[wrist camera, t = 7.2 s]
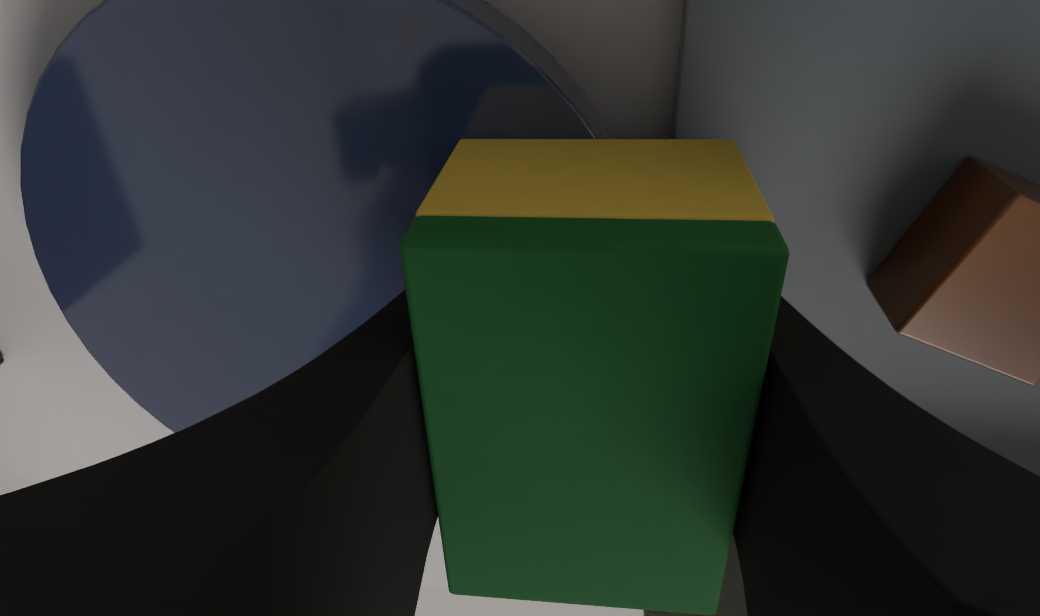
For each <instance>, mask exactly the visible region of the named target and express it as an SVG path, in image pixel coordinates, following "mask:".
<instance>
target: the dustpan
mask: <svg viewBox="0 0 1040 616" xmlns="http://www.w3.org/2000/svg"><path fill="white" fill-rule="evenodd" d="M671 139H731V140H734V141H735V143H736V145H737V147H738V149H739V151H740V153H741V155H742V157H743V158H744V160H745V162H746V164H747V166H748V168H749V170H750V172H751V174H752V176H753V178H754V180H755V182H756V184H757V186H758V188H759V190H760V191H761V193H762V195H763V197H764V199H765V201H766V203H767V205H768V207H769V209H770V211H771V213H772V215H773V217H774V220H775V221H774V223H776V225H777V227H778V229H779V231H780V233H781V235H782V237H783V239H784V241H785V243H786V245H787V246H788V249H789V253H790V254H789V259H788V264H787V269H786V274H785V279H784V283H783V288H782V293H781V296H782V297H783V298H784V299H785V300H786V301H788V302H789V303H790V304H791V305H792V306H793V307H794V308H795V309H796V310H797V311H798V312H800V313H801V314H802V315H803V316H804V317H805V318H806V319H807V320H808V321H809V322H811V323H812V324H813V325H814V326H815V327H816V328H817V329H819V330H820V331H821V332H822V333H823V334H824V335H825V336H827V337H828V338H829V339H830V340H831V341H832V342H834V343H835V344H836V345H837V346H838V347H840V348H841V349H842V350H843V351H845V352H846V353H847V354H848V355H849V356H851V357H852V358H853V359H854V360H856V361H857V362H858V363H860V364H861V365H862V366H864V367H865V368H866V369H867V370H869V371H870V372H871V373H873V374H874V375H875V376H877V377H878V378H879V379H881V380H882V381H883V382H885V383H886V384H887V385H889V386H890V387H891V388H893V389H894V390H896V391H897V392H899V393H900V394H901V395H903V396H904V397H906V398H907V399H909V400H910V401H912V402H913V403H915V404H916V405H918V406H919V407H921V408H922V409H924V410H926V411H927V412H929V413H930V414H932V415H933V416H935V417H936V418H938V419H940V420H941V421H943V422H944V423H946V424H947V425H949V426H950V427H952V428H954V429H955V430H957V431H959V432H960V433H962V434H964V435H966V436H967V437H969V438H971V439H972V440H974V441H976V442H977V443H979V444H981V445H983V446H984V447H986V448H988V449H990V450H992V451H994V452H996V453H997V454H999V455H1001V456H1003V457H1005V458H1007V459H1008V460H1010V461H1012V462H1014V463H1016V464H1018V465H1019V466H1021V467H1023V468H1025V469H1027V470H1029V471H1030V472H1032V473H1034V474H1036V475H1038V476H1040V381H1039V382H1038V383H1037V384H1036V385H1033V386H1031V385H1028V384H1026V383H1023V382H1021V381H1018V380H1016V379H1013V378H1010V377H1008V376H1005V375H1003V374H1000V373H998V372H995V371H993V370H990V369H987V368H985V367H982V366H980V365H977V364H975V363H972V362H970V361H967V360H964V359H962V358H959V357H957V356H954V355H952V354H949V353H947V352H944V351H941V350H939V349H936V348H934V347H931V346H929V345H926V344H924V343H921V342H918V341H916V340H913V339H911V338H908V337H906V336H903V335H901V334H898V333H896V332H895V330H894V329H893V327H892V325H891V324H890V322H889V321H888V319H887V317H886V316H885V314H884V313H883V311H882V309H881V308H880V306H879V305H878V303H877V301H876V300H875V298H874V297H873V295H872V293H871V292H870V290H869V289H868V287H867V286H866V282H867V281H868V279H869V278H870V277H871V276H872V274H873V273H874V272H875V271H876V269H877V268H878V267H879V266H880V264H881V263H882V262H883V261H884V259H885V258H886V257H887V256H888V254H889V253H890V252H891V251H892V249H893V248H894V247H895V246H896V244H897V243H898V242H899V241H900V239H901V238H902V237H903V236H904V235H905V233H906V232H907V231H908V230H909V228H910V227H911V226H912V225H913V223H914V222H915V221H916V220H917V218H918V217H919V216H920V215H921V213H922V212H923V211H924V210H925V208H926V207H927V206H928V205H929V203H930V202H931V201H932V200H933V198H934V197H935V196H936V195H937V193H938V192H939V191H940V190H941V188H942V187H943V186H944V185H945V184H946V182H947V181H948V180H949V179H950V177H951V176H952V175H953V174H954V172H955V171H956V170H957V169H958V167H959V166H960V165H961V164H962V162H963V161H964V160H965V159H966V158H967V157H968V156H973V157H976V158H978V159H980V160H983V161H985V162H987V163H990V164H992V165H994V166H997V167H999V168H1001V169H1004V170H1006V171H1008V172H1011V173H1013V174H1015V175H1018V176H1020V177H1022V178H1025V179H1027V180H1029V181H1032V182H1034V183H1036V184H1039V185H1040V0H684V6H683V16H682V27H681V37H680V48H679V59H678V69H677V80H676V90H675V101H674V112H673V122H672V133H671ZM644 616H748V615H747V607H746V600H745V593H744V585H743V578H742V573H741V568H740V563H739V558H738V553H737V548H736V544H735V540H734V536H733V534H732V539H731V544H730V549H729V553H728V558H727V563H726V568H725V573H724V578H723V583H722V588H721V593H720V598H719V603H718V607H717V611H716V613H715V614H713V615H704V614H692V613H679V612H667V611H654V610H644Z"/></svg>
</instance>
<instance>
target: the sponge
mask: <svg viewBox="0 0 1040 616" xmlns="http://www.w3.org/2000/svg"><path fill="white" fill-rule="evenodd" d="M774 221H775V220H774V217H773V215H772V213H771V211H770V209H769V207H768V205H767V203H766V201H765V199H764V197H763V195H762V193H761V191H760V190H759V188H758V186H757V184H756V182H755V180H754V178H753V176H752V174H751V172H750V170H749V168H748V166H747V164H746V162H745V160H744V158H743V157H742V155H741V153H740V151H739V149H738V147H737V145H736V143H735V141H734V140H731V139H461V140H459V142H458V144H457V145H456V147H455V149H454V150H453V152H452V154H451V155H450V157H449V159H448V160H447V162H446V164H445V165H444V167H443V169H442V170H441V172H440V174H439V175H438V177H437V179H436V180H435V182H434V184H433V185H432V187H431V189H430V190H429V192H428V194H427V195H426V197H425V199H424V200H423V202H422V204H421V205H420V207H419V209H418V210H417V212H416V217H415V218H414V219H413V220H412V222H411V224H410V225H409V227H408V229H407V230H406V232H405V234H404V236H403V237H402V239H401V241H400V245H399V247H400V254H401V261H402V268H403V275H404V282H405V289H406V296H407V303H408V310H409V316H410V323H411V330H412V337H413V344H414V351H415V358H416V365H417V372H418V379H419V386H420V393H421V400H422V407H423V414H424V421H425V427H426V434H427V441H428V448H429V455H430V462H431V469H432V476H433V483H434V490H435V497H436V504H437V511H438V518H439V525H440V531H441V538H442V545H443V552H444V559H445V566H446V573H447V580H448V587H449V591H450V593H452V594H457V595H470V596H481V597H494V598H506V599H518V600H531V601H543V602H556V603H568V604H581V605H593V606H606V607H618V608H630V609H642V610H654V611H667V612H679V613H692V614H704V615H713V614H715V613H716V611H717V607H718V603H719V598H720V593H721V588H722V583H723V578H724V573H725V568H726V563H727V558H728V553H729V549H730V544H731V539H732V534H733V529H734V524H735V519H736V514H737V509H738V504H739V499H740V495H741V490H742V485H743V480H744V475H745V470H746V465H747V460H748V455H749V450H750V445H751V441H752V436H753V431H754V426H755V421H756V416H757V411H758V406H759V401H760V396H761V391H762V387H763V382H764V377H765V372H766V367H767V362H768V357H769V352H770V347H771V342H772V337H773V333H774V328H775V323H776V318H777V313H778V308H779V303H780V298H781V293H782V288H783V283H784V279H785V274H786V269H787V264H788V259H789V254H790V253H789V249H788V246H787V245H786V243H785V241H784V239H783V237H782V235H781V233H780V231H779V229H778V227H777V225H776V223H774Z"/></svg>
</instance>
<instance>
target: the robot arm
mask: <svg viewBox="0 0 1040 616" xmlns="http://www.w3.org/2000/svg"><path fill="white" fill-rule="evenodd" d="M437 518H438V511H437V504H436V497H435V490H434V483H433V476H432V469H431V462H430V455H429V448H428V441H427V434H426V427H425V421H424V414H423V407H422V400H421V393H420V386H419V379H418V372H417V365H416V358H415V351H414V344H413V337H412V330H411V323H410V316H409V310H408V303H407V296H406V289H405V290H404V291H402V292H401V293H400V294H399V295H398V296H396V297H395V298H394V299H393V300H392V301H390V302H389V303H388V304H387V305H385V306H384V307H383V308H382V309H381V310H379V311H378V312H377V313H376V314H374V315H373V316H372V317H371V318H369V319H368V320H367V321H366V322H364V323H363V324H362V325H360V326H359V327H358V328H356V329H355V330H354V331H352V332H351V333H349V334H348V335H347V336H345V337H344V338H343V339H341V340H340V341H338V342H337V343H336V344H334V345H333V346H332V347H330V348H329V349H327V350H326V351H325V352H323V353H322V354H321V355H319V356H318V357H316V358H315V359H313V360H312V361H310V362H309V363H307V364H305V365H304V366H302V367H301V368H299V369H298V370H296V371H294V372H293V373H291V374H289V375H288V376H286V377H284V378H283V379H281V380H279V381H277V382H276V383H274V384H272V385H271V386H269V387H267V388H266V389H264V390H262V391H260V392H258V393H256V394H255V395H253V396H251V397H249V398H247V399H245V400H243V401H241V402H239V403H237V404H235V405H233V406H231V407H229V408H227V409H225V410H223V411H221V412H219V413H217V414H214V415H212V416H210V417H208V418H206V419H204V420H202V421H200V422H198V423H196V424H194V425H192V426H190V427H188V428H185V429H183V430H181V431H178V432H176V433H174V434H171V435H169V436H167V437H164V438H162V439H160V440H157V441H155V442H152V443H150V444H147V445H145V446H142V447H140V448H137V449H135V450H132V451H130V452H127V453H124V454H122V455H119V456H117V457H114V458H111V459H109V460H106V461H103V462H100V463H98V464H95V465H92V466H89V467H86V468H83V469H80V470H77V471H74V472H71V473H68V474H65V475H62V476H59V477H56V478H53V479H50V480H47V481H44V482H41V483H38V484H35V485H32V486H29V487H26V488H23V489H19V490H16V491H13V492H10V493H7V494H3V495H0V616H414V615H415V610H416V605H417V601H418V596H419V591H420V586H421V581H422V576H423V572H424V567H425V562H426V557H427V553H428V549H429V545H430V542H431V538H432V534H433V531H434V527H435V524H436V521H437ZM733 536H734V540H735V544H736V548H737V553H738V558H739V563H740V568H741V573H742V578H743V585H744V593H745V600H746V607H747V615H748V616H1040V476H1038V475H1036V474H1034V473H1032V472H1030V471H1029V470H1027V469H1025V468H1023V467H1021V466H1019V465H1018V464H1016V463H1014V462H1012V461H1010V460H1008V459H1007V458H1005V457H1003V456H1001V455H999V454H997V453H996V452H994V451H992V450H990V449H988V448H986V447H984V446H983V445H981V444H979V443H977V442H976V441H974V440H972V439H971V438H969V437H967V436H966V435H964V434H962V433H960V432H959V431H957V430H955V429H954V428H952V427H950V426H949V425H947V424H946V423H944V422H943V421H941V420H940V419H938V418H936V417H935V416H933V415H932V414H930V413H929V412H927V411H926V410H924V409H922V408H921V407H919V406H918V405H916V404H915V403H913V402H912V401H910V400H909V399H907V398H906V397H904V396H903V395H901V394H900V393H899V392H897V391H896V390H894V389H893V388H891V387H890V386H889V385H887V384H886V383H885V382H883V381H882V380H881V379H879V378H878V377H877V376H875V375H874V374H873V373H871V372H870V371H869V370H867V369H866V368H865V367H864V366H862V365H861V364H860V363H858V362H857V361H856V360H854V359H853V358H852V357H851V356H849V355H848V354H847V353H846V352H845V351H843V350H842V349H841V348H840V347H838V346H837V345H836V344H835V343H834V342H832V341H831V340H830V339H829V338H828V337H827V336H825V335H824V334H823V333H822V332H821V331H820V330H819V329H817V328H816V327H815V326H814V325H813V324H812V323H811V322H809V321H808V320H807V319H806V318H805V317H804V316H803V315H802V314H801V313H800V312H798V311H797V310H796V309H795V308H794V307H793V306H792V305H791V304H790V303H789V302H788V301H786V300H785V299H784V298H783V297H782V296H781V298H780V303H779V308H778V313H777V318H776V323H775V328H774V333H773V337H772V342H771V347H770V352H769V357H768V362H767V367H766V372H765V377H764V382H763V387H762V391H761V396H760V401H759V406H758V411H757V416H756V421H755V426H754V431H753V436H752V441H751V445H750V450H749V455H748V460H747V465H746V470H745V475H744V480H743V485H742V490H741V495H740V499H739V504H738V509H737V514H736V519H735V524H734V529H733Z"/></svg>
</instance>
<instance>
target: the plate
mask: <svg viewBox="0 0 1040 616" xmlns="http://www.w3.org/2000/svg"><path fill="white" fill-rule="evenodd" d="M461 139H611V137H610V135H609V133H608V130H607V129H606V127H605V125H604V124H603V122H602V121H601V119H600V118H599V116H598V115H597V113H596V111H595V110H594V108H593V107H592V105H591V104H590V102H589V101H588V99H587V97H586V96H585V94H584V93H583V91H582V90H581V89H580V88H579V87H578V85H577V84H576V83H575V82H574V81H573V79H572V78H571V77H570V76H569V75H568V74H567V72H566V71H565V70H564V69H563V68H562V67H561V65H560V64H559V63H558V62H557V61H556V59H555V58H554V57H553V56H552V55H551V54H550V53H549V52H548V51H546V50H545V49H544V48H543V47H542V46H541V45H540V44H539V43H538V42H537V41H535V40H534V39H533V38H532V37H531V36H530V35H529V34H528V33H527V32H525V31H524V30H523V29H522V28H521V27H520V26H519V25H518V24H517V23H515V22H514V21H512V20H511V19H509V18H508V17H507V16H505V15H504V14H502V13H501V12H499V11H498V10H496V9H495V8H494V7H492V6H491V5H489V4H488V3H486V2H485V1H483V0H104V1H103V2H102V3H100V4H99V5H98V6H96V7H95V8H94V9H92V10H91V11H90V12H88V13H87V14H86V15H85V16H84V17H83V18H82V20H81V21H80V22H79V23H78V24H77V25H76V26H75V27H74V28H73V30H72V31H71V32H70V33H69V34H68V35H67V36H66V37H65V39H64V40H63V41H62V42H61V43H60V44H59V46H58V48H57V49H56V51H55V53H54V55H53V56H52V58H51V60H50V61H49V63H48V65H47V66H46V68H45V70H44V71H43V73H42V75H41V77H40V78H39V81H38V84H37V87H36V89H35V92H34V95H33V98H32V101H31V103H30V106H29V109H28V112H27V116H26V122H25V128H24V134H23V139H22V145H21V192H22V199H23V206H24V213H25V219H26V224H27V228H28V231H29V235H30V238H31V242H32V245H33V249H34V252H35V256H36V259H37V261H38V263H39V266H40V268H41V270H42V273H43V275H44V277H45V280H46V282H47V284H48V287H49V289H50V291H51V293H52V295H53V297H54V298H55V300H56V302H57V304H58V306H59V307H60V309H61V311H62V313H63V314H64V316H65V318H66V320H67V321H68V323H69V325H70V326H71V327H72V329H73V330H74V332H75V333H76V334H77V336H78V337H79V339H80V340H81V341H82V343H83V344H84V346H85V347H86V349H87V350H88V351H89V353H90V354H91V355H92V356H93V357H94V358H95V360H96V361H97V362H98V363H99V364H100V365H101V367H102V368H103V369H104V370H105V371H106V372H107V373H108V375H109V376H110V377H111V378H112V379H113V380H114V381H115V382H116V383H117V384H118V385H119V386H120V387H121V388H122V389H123V390H124V391H125V392H126V393H127V394H128V395H129V396H130V397H131V398H132V399H133V400H134V401H135V402H137V403H138V404H139V405H140V406H141V407H142V408H144V409H145V410H146V411H147V412H149V413H150V414H151V415H152V416H153V417H155V418H156V419H157V420H158V421H160V422H161V423H162V424H163V425H165V426H166V427H167V428H169V429H170V430H172V431H173V432H175V433H176V432H178V431H181V430H183V429H185V428H188V427H190V426H192V425H194V424H196V423H198V422H200V421H202V420H204V419H206V418H208V417H210V416H212V415H214V414H217V413H219V412H221V411H223V410H225V409H227V408H229V407H231V406H233V405H235V404H237V403H239V402H241V401H243V400H245V399H247V398H249V397H251V396H253V395H255V394H256V393H258V392H260V391H262V390H264V389H266V388H267V387H269V386H271V385H272V384H274V383H276V382H277V381H279V380H281V379H283V378H284V377H286V376H288V375H289V374H291V373H293V372H294V371H296V370H298V369H299V368H301V367H302V366H304V365H305V364H307V363H309V362H310V361H312V360H313V359H315V358H316V357H318V356H319V355H321V354H322V353H323V352H325V351H326V350H327V349H329V348H330V347H332V346H333V345H334V344H336V343H337V342H338V341H340V340H341V339H343V338H344V337H345V336H347V335H348V334H349V333H351V332H352V331H354V330H355V329H356V328H358V327H359V326H360V325H362V324H363V323H364V322H366V321H367V320H368V319H369V318H371V317H372V316H373V315H374V314H376V313H377V312H378V311H379V310H381V309H382V308H383V307H384V306H385V305H387V304H388V303H389V302H390V301H392V300H393V299H394V298H395V297H396V296H398V295H399V294H400V293H401V292H402V291H404V290H405V282H404V275H403V268H402V261H401V254H400V247H399V245H400V241H401V239H402V237H403V236H404V234H405V232H406V230H407V229H408V227H409V225H410V224H411V222H412V220H413V219H414V218H415V217H416V212H417V210H418V209H419V207H420V205H421V204H422V202H423V200H424V199H425V197H426V195H427V194H428V192H429V190H430V189H431V187H432V185H433V184H434V182H435V180H436V179H437V177H438V175H439V174H440V172H441V170H442V169H443V167H444V165H445V164H446V162H447V160H448V159H449V157H450V155H451V154H452V152H453V150H454V149H455V147H456V145H457V144H458V142H459V140H461Z"/></svg>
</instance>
